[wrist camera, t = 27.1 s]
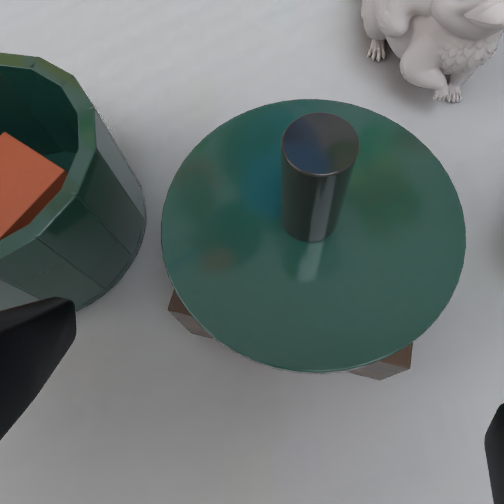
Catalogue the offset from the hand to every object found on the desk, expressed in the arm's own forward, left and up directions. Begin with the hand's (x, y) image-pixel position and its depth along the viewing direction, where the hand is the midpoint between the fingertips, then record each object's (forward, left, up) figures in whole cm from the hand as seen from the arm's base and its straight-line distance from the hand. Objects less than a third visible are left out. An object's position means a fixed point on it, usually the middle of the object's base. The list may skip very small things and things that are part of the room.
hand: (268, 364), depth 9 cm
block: (+17, -1, -12) cm, 21 cm away
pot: (+17, -1, -13) cm, 21 cm away
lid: (+3, -7, -7) cm, 10 cm away
